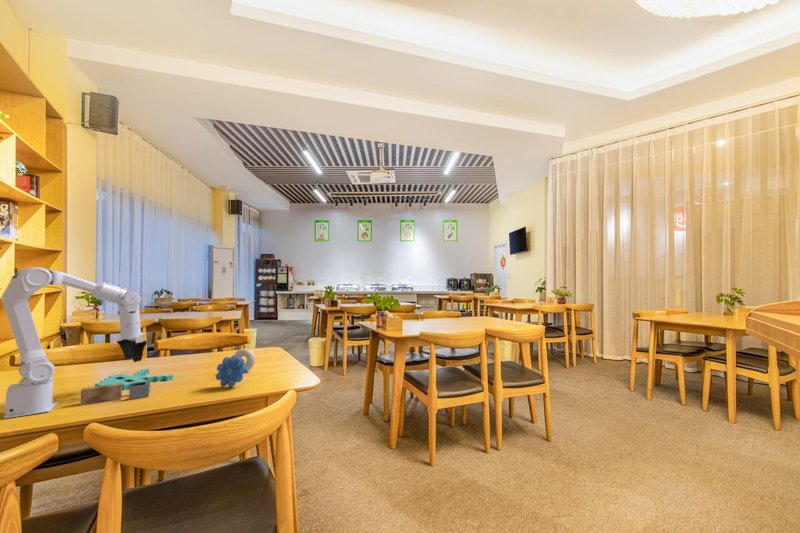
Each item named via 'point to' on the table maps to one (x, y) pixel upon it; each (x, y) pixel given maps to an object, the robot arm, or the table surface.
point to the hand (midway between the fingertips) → (133, 359)
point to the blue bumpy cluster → (231, 371)
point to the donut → (248, 355)
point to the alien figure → (133, 379)
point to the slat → (101, 394)
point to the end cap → (139, 390)
